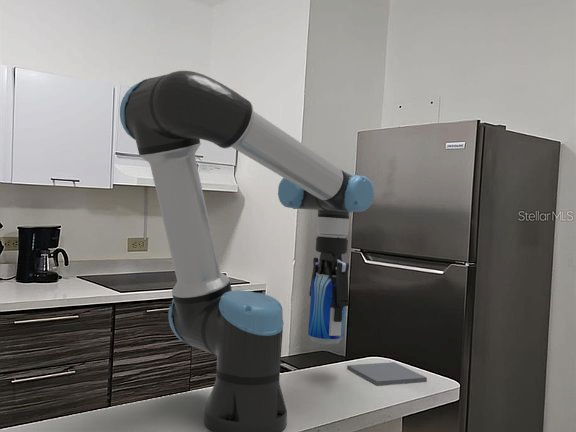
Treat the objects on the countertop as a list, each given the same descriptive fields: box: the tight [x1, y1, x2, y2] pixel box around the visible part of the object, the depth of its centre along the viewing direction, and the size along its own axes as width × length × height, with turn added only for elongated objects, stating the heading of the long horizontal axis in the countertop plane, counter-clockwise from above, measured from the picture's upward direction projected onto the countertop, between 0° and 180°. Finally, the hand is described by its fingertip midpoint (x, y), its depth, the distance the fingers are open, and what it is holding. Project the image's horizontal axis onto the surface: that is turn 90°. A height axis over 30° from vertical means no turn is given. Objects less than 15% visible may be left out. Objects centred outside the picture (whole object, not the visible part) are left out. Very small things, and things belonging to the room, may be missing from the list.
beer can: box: [307, 273, 346, 345], centre depth 140 cm, size 8×8×16 cm
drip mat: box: [346, 361, 428, 387], centre depth 145 cm, size 14×14×1 cm
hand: (325, 331), depth 140 cm, fingers closed on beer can, 8 cm apart
